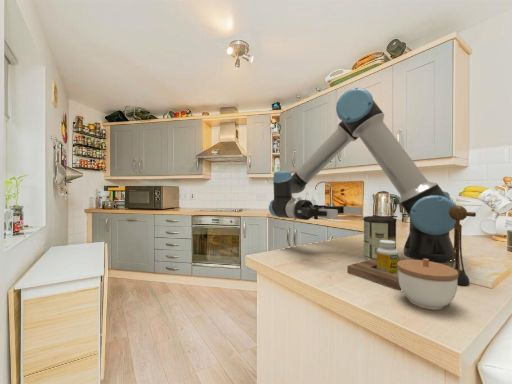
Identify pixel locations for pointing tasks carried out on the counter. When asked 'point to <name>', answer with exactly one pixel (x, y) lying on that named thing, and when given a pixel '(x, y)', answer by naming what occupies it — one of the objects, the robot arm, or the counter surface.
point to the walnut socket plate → (374, 273)
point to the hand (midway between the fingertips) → (350, 212)
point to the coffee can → (377, 234)
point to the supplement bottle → (387, 256)
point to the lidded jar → (427, 283)
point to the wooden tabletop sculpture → (459, 241)
